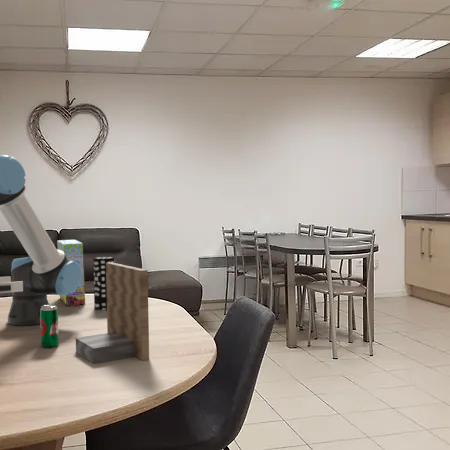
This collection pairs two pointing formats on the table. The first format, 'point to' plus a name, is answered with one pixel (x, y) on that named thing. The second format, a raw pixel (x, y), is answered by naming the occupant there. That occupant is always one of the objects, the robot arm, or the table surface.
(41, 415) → the table surface
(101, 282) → the spotted tube
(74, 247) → the snack box
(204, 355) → the table surface
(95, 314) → the table surface
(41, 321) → the soda can
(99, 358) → the wall board
